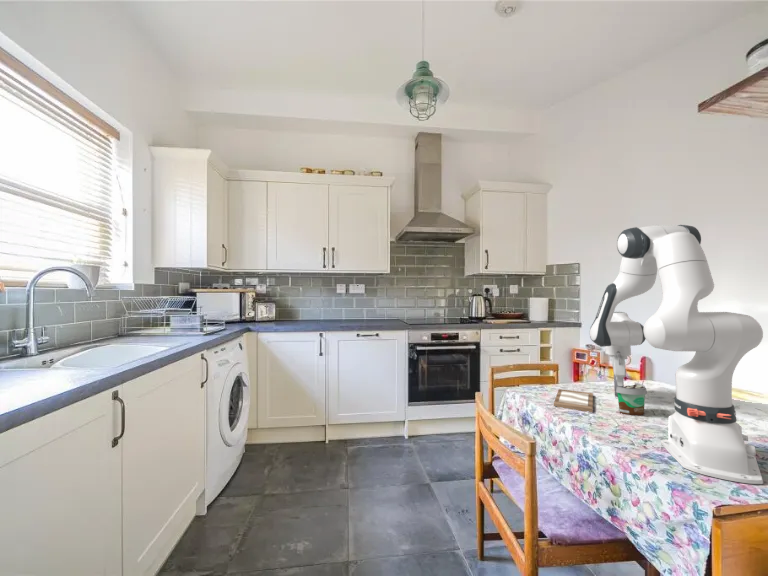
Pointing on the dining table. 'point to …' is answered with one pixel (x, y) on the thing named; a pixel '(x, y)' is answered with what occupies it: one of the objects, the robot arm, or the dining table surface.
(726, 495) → the dining table surface
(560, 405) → the writing board
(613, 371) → the marker
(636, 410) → the food container
